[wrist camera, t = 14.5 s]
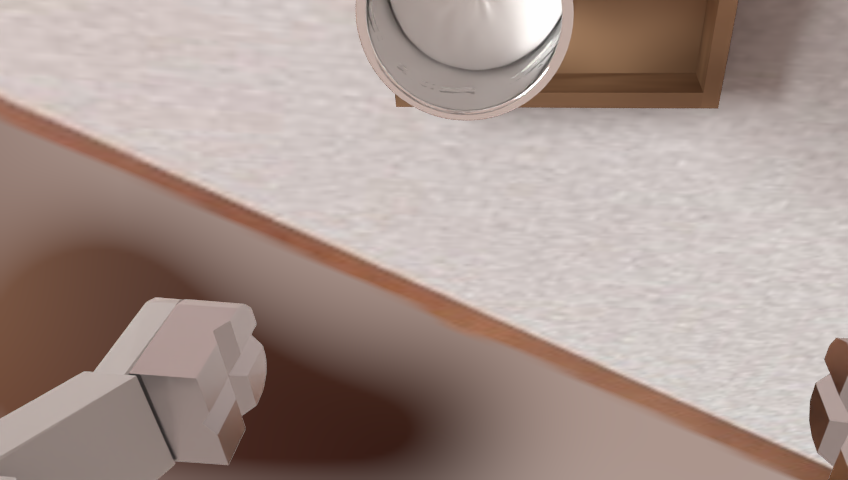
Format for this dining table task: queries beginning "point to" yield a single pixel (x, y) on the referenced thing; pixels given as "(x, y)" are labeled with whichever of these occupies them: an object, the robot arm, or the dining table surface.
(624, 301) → the dining table surface
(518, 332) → the dining table surface
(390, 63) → the beer glass
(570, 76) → the walnut tray
